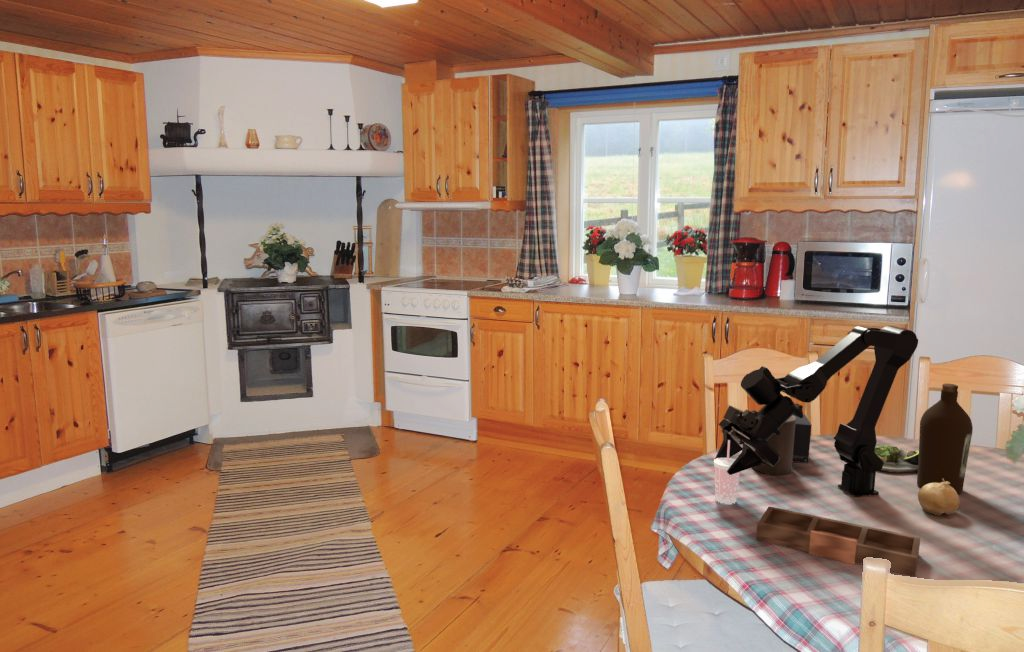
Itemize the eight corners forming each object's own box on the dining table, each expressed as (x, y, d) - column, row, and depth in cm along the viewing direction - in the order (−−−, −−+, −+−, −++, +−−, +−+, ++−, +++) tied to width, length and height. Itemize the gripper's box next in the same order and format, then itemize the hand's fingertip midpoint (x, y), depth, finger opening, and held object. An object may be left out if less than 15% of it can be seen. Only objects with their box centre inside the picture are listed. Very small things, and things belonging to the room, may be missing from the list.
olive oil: (913, 491, 177) (923, 386, 173) (914, 477, 186) (924, 377, 182) (966, 500, 172) (978, 392, 168) (964, 485, 181) (976, 383, 177)
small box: (810, 464, 195) (813, 424, 194) (783, 462, 197) (786, 422, 195) (803, 450, 206) (805, 413, 204) (777, 449, 207) (780, 411, 205)
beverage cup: (745, 501, 170) (749, 441, 168) (727, 508, 167) (731, 446, 165) (723, 493, 175) (726, 434, 173) (705, 498, 172) (708, 439, 169)
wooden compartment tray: (755, 541, 151) (756, 520, 150) (767, 522, 160) (769, 501, 159) (915, 578, 136) (917, 554, 136) (918, 554, 146) (920, 532, 145)
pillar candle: (764, 476, 186) (769, 417, 183) (743, 463, 195) (748, 406, 193) (799, 474, 188) (805, 415, 186) (777, 460, 198) (782, 404, 195)
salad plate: (872, 478, 186) (874, 460, 185) (831, 454, 204) (832, 438, 203) (943, 474, 189) (945, 457, 189) (896, 451, 207) (898, 435, 206)
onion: (957, 522, 161) (960, 490, 159) (914, 514, 165) (917, 482, 164) (959, 509, 167) (962, 479, 166) (918, 501, 171) (921, 471, 170)
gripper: (728, 384, 177) (681, 432, 177) (770, 405, 159) (717, 459, 158) (757, 415, 180) (711, 463, 179) (801, 440, 161) (750, 492, 161)
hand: (721, 468), depth 170 cm, fingers closed on beverage cup, 6 cm apart
